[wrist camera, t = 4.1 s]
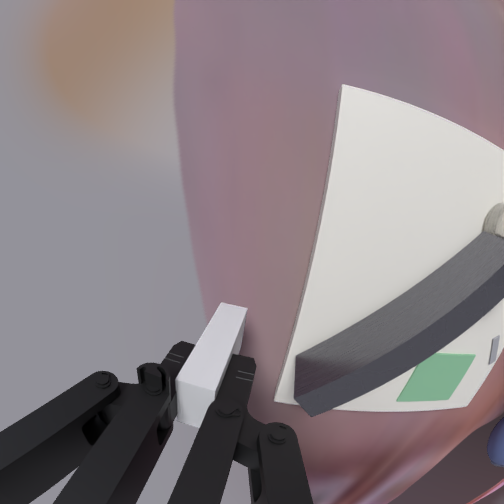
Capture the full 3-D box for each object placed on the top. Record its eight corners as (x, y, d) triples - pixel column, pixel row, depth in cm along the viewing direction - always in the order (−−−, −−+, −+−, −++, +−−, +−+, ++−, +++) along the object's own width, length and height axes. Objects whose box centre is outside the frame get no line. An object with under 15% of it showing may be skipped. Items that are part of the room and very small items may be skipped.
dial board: (540, 183, 11) (552, 185, 10) (461, 397, 18) (467, 407, 16) (338, 91, 14) (343, 82, 12) (275, 388, 20) (273, 403, 18)
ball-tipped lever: (506, 193, 11) (548, 201, 7) (518, 237, 12) (556, 253, 8) (289, 345, 17) (285, 392, 12) (316, 379, 17) (317, 426, 13)
